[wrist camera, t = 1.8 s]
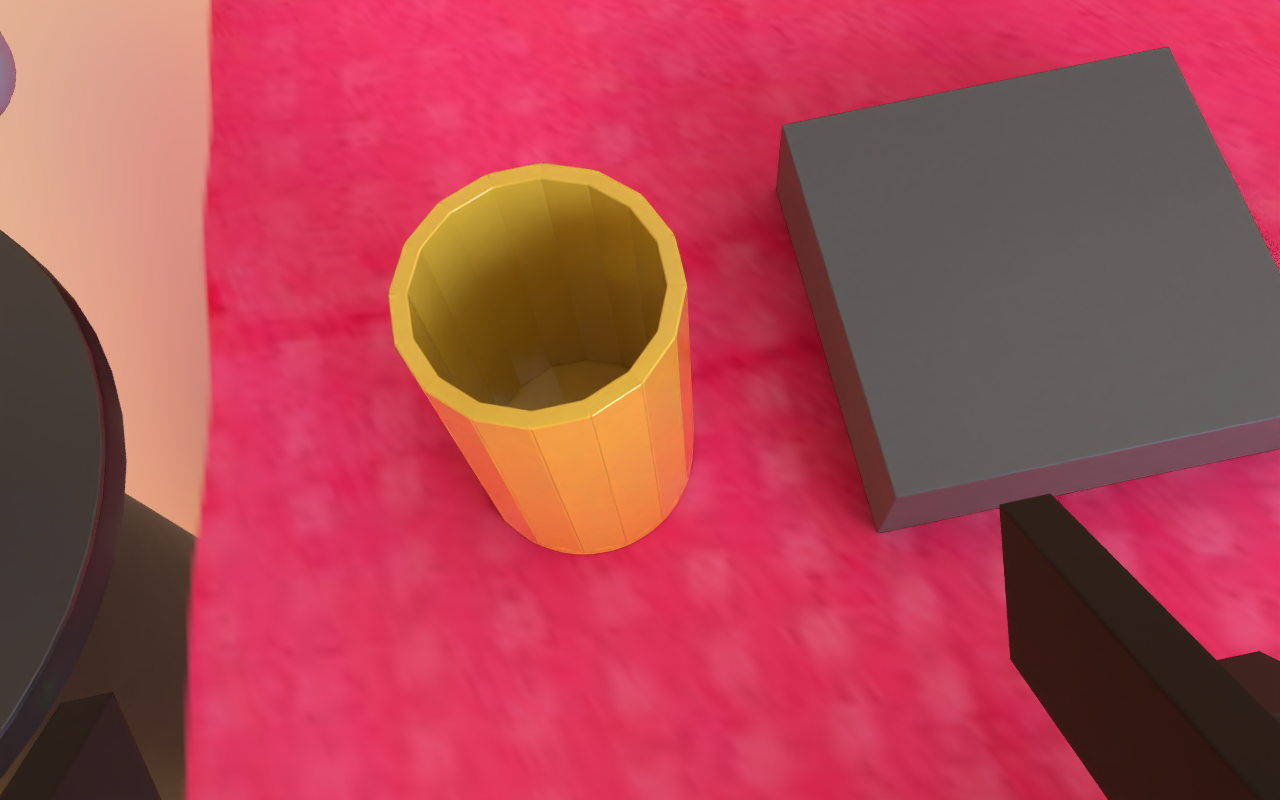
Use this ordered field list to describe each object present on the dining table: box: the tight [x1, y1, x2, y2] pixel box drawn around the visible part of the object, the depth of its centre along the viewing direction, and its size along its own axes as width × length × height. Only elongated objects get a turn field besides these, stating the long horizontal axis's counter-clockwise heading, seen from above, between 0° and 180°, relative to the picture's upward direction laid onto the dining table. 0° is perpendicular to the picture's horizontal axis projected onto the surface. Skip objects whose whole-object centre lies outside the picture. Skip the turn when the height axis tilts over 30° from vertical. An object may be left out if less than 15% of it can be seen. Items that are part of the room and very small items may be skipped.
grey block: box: [776, 47, 1280, 533], centre depth 38 cm, size 14×14×4 cm
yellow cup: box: [388, 163, 694, 554], centre depth 33 cm, size 7×7×12 cm
